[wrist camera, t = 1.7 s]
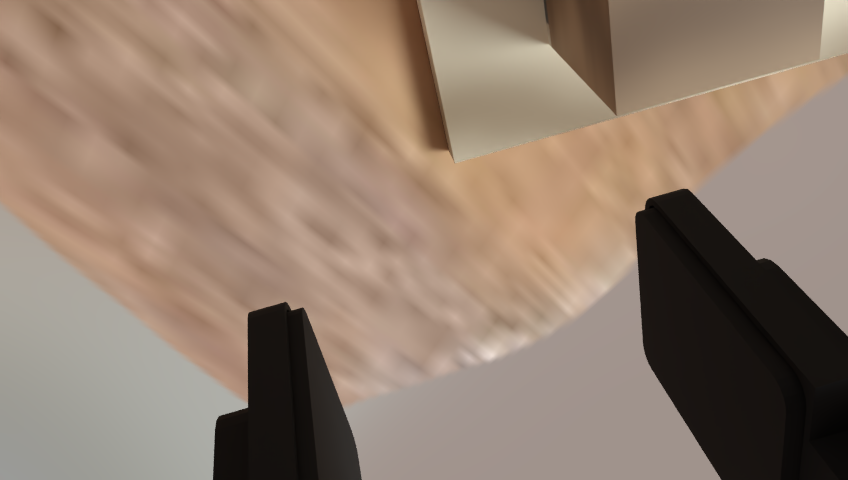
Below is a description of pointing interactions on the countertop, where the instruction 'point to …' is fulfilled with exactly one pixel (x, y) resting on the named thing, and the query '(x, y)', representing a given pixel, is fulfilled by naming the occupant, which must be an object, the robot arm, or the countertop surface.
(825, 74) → the countertop surface
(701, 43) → the walnut block
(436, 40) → the board
